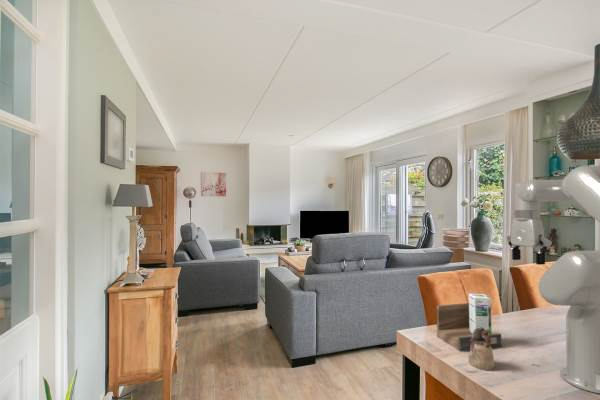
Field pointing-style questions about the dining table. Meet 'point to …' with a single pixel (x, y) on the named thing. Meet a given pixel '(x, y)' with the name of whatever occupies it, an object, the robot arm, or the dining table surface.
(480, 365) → the figurine
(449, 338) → the shelf
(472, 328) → the syrup box
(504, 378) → the dining table surface
